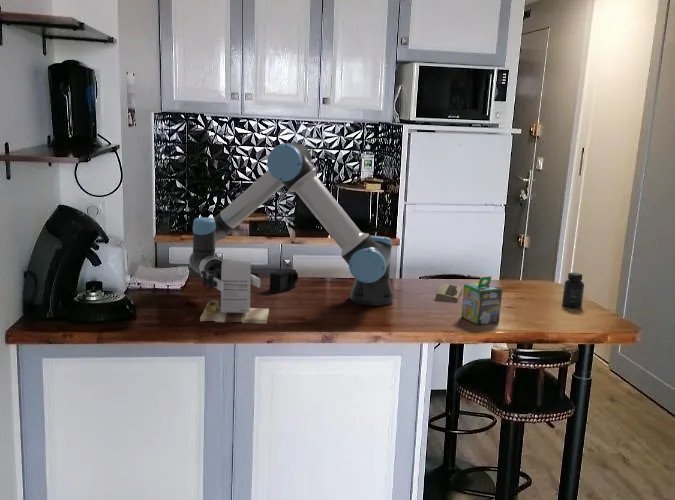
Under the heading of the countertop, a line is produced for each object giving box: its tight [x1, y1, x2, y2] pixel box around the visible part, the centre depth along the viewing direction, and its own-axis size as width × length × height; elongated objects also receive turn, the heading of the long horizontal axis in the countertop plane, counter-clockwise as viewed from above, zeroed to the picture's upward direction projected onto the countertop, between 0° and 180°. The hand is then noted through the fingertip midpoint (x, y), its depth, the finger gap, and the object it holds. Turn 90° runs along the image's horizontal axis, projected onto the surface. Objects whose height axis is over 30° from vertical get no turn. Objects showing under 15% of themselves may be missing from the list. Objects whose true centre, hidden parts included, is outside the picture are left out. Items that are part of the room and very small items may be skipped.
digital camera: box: [269, 268, 299, 294], centre depth 238 cm, size 10×5×7 cm, turn 149°
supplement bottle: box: [561, 272, 585, 309], centre depth 235 cm, size 7×7×12 cm
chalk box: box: [461, 276, 503, 326], centre depth 212 cm, size 9×9×15 cm
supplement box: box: [220, 258, 252, 313], centre depth 202 cm, size 9×9×15 cm
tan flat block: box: [434, 283, 463, 303], centre depth 241 cm, size 16×8×3 cm, turn 164°
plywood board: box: [199, 299, 270, 325], centre depth 204 cm, size 20×12×4 cm, turn 92°
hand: (241, 285), depth 199 cm, fingers closed on supplement box, 11 cm apart
